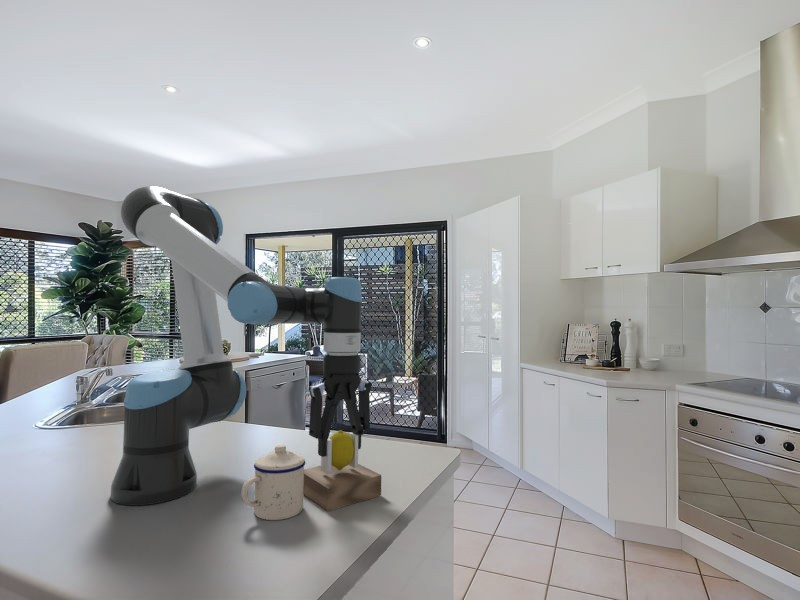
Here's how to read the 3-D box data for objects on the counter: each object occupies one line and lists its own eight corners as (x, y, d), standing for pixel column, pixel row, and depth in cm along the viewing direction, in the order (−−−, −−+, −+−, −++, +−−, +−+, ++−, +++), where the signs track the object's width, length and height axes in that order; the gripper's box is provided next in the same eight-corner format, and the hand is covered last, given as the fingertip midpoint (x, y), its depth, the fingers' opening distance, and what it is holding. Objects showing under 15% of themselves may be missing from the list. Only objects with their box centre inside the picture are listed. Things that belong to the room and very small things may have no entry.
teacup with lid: (284, 496, 88) (286, 436, 88) (314, 509, 82) (315, 445, 82) (227, 516, 78) (229, 449, 79) (256, 533, 73) (258, 461, 73)
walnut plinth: (327, 511, 81) (328, 488, 81) (298, 490, 91) (299, 470, 91) (381, 495, 89) (381, 475, 89) (348, 477, 98) (349, 459, 98)
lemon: (351, 475, 87) (352, 434, 87) (323, 474, 87) (324, 433, 87) (355, 465, 93) (355, 427, 93) (328, 465, 93) (329, 426, 93)
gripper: (309, 356, 82) (306, 484, 81) (389, 353, 94) (387, 465, 93) (291, 353, 88) (288, 473, 87) (369, 350, 99) (367, 455, 99)
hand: (339, 468), depth 90 cm, fingers closed on lemon, 5 cm apart
